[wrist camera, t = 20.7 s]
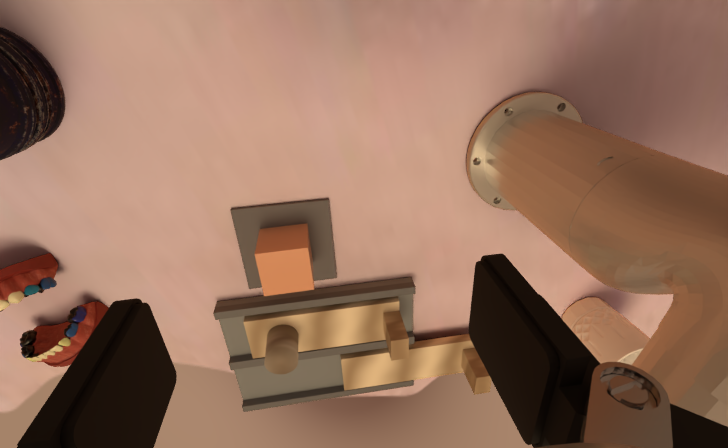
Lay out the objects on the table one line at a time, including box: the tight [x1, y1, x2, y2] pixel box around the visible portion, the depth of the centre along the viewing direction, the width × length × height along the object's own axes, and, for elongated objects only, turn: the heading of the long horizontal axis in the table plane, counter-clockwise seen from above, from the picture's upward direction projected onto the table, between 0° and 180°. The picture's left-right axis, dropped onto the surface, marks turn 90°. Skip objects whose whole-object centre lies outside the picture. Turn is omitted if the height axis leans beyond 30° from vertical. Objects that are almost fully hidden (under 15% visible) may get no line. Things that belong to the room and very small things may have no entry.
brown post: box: [264, 324, 298, 374], centre depth 43 cm, size 4×4×4 cm
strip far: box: [340, 334, 491, 394], centre depth 49 cm, size 18×6×6 cm, turn 93°
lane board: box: [214, 277, 415, 412], centre depth 49 cm, size 23×17×2 cm
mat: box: [231, 199, 337, 289], centre depth 42 cm, size 10×10×1 cm
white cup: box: [562, 297, 650, 365], centre depth 50 cm, size 8×8×10 cm
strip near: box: [243, 296, 409, 361], centre depth 44 cm, size 18×6×6 cm, turn 93°
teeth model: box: [0, 253, 108, 367], centre depth 39 cm, size 8×6×12 cm
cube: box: [255, 223, 314, 296], centre depth 40 cm, size 5×5×5 cm
